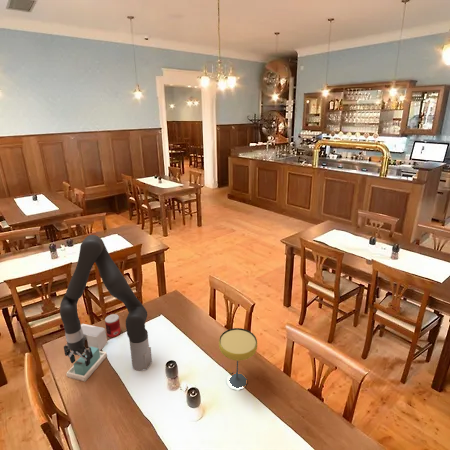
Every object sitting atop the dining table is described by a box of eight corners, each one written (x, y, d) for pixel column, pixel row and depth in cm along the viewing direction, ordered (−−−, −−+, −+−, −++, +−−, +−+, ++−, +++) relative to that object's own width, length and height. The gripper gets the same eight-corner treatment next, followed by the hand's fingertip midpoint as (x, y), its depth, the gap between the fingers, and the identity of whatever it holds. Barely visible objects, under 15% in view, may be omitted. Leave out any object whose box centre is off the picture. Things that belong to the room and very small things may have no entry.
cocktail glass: (241, 403, 142) (243, 360, 134) (211, 383, 152) (210, 342, 144) (262, 378, 156) (264, 337, 147) (232, 361, 166) (233, 322, 157)
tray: (107, 356, 169) (106, 352, 168) (85, 381, 153) (84, 377, 152) (90, 352, 172) (89, 348, 171) (67, 376, 156) (66, 372, 155)
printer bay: (107, 342, 179) (105, 327, 175) (99, 351, 172) (96, 336, 169) (85, 337, 183) (82, 323, 179) (76, 346, 176) (73, 331, 172)
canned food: (122, 329, 190) (120, 314, 186) (117, 338, 182) (115, 322, 179) (110, 328, 190) (108, 313, 187) (104, 337, 183) (102, 321, 179)
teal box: (100, 357, 168) (98, 347, 165) (83, 375, 156) (81, 365, 153) (92, 355, 169) (90, 345, 166) (75, 373, 157) (73, 363, 155)
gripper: (92, 334, 152) (97, 360, 157) (67, 329, 155) (73, 355, 161) (82, 344, 145) (88, 371, 151) (56, 339, 148) (63, 366, 154)
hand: (80, 363), depth 156 cm, fingers open, 8 cm apart
